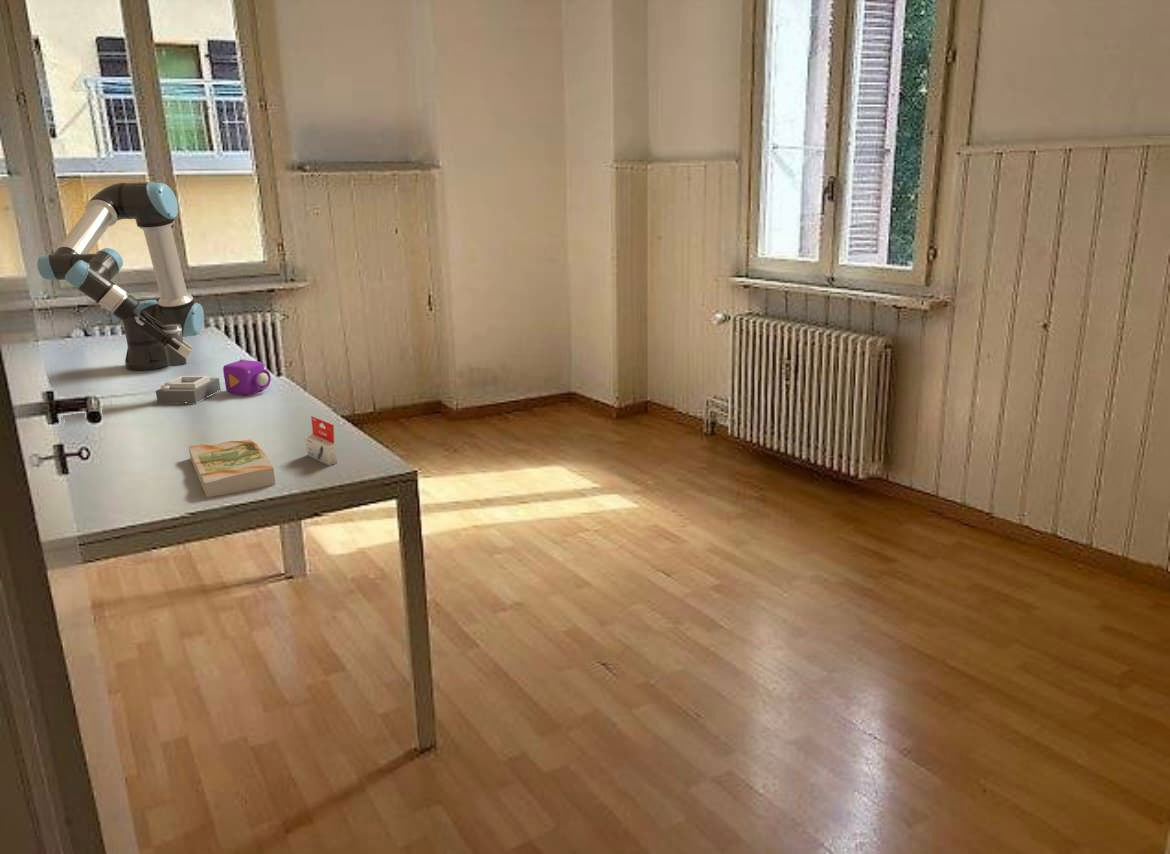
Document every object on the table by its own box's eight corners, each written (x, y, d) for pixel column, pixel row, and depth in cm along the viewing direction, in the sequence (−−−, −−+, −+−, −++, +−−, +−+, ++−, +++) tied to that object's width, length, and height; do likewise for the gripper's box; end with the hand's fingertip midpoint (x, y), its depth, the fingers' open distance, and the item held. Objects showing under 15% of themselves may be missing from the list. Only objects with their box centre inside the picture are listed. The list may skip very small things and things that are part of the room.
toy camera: (261, 397, 268) (257, 366, 265) (221, 395, 271) (217, 364, 268) (279, 388, 278) (276, 358, 275) (241, 387, 281) (237, 357, 278)
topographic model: (275, 486, 195) (273, 465, 194) (206, 499, 189) (203, 477, 187) (252, 450, 220) (249, 431, 219) (190, 460, 213) (187, 441, 212)
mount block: (184, 390, 278) (181, 373, 276) (220, 390, 277) (218, 373, 276) (157, 403, 263) (154, 386, 261) (196, 403, 262) (193, 386, 260)
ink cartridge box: (328, 466, 207) (324, 427, 204) (306, 455, 214) (302, 417, 212) (338, 463, 208) (334, 424, 206) (315, 453, 216) (311, 415, 213)
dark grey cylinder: (173, 362, 268) (167, 324, 265) (190, 362, 268) (184, 324, 264) (164, 366, 263) (158, 327, 260) (181, 366, 263) (175, 327, 259)
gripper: (115, 308, 263) (182, 355, 274) (107, 317, 247) (179, 368, 258) (131, 289, 263) (198, 338, 274) (125, 298, 247) (196, 349, 258)
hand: (189, 352), depth 266 cm, fingers closed on dark grey cylinder, 5 cm apart
